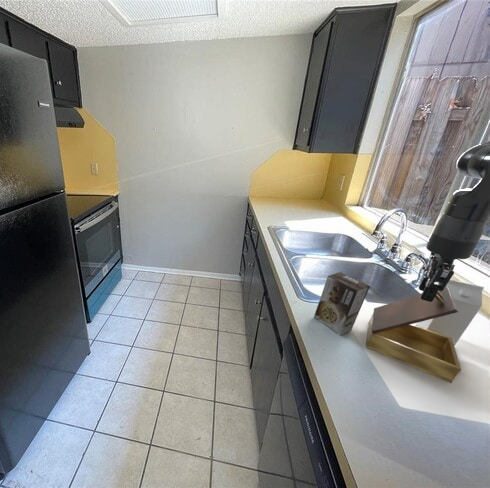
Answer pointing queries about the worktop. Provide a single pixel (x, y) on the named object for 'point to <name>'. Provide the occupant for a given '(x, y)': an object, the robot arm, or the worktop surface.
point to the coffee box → (341, 302)
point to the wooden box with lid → (417, 349)
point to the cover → (412, 311)
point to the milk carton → (467, 306)
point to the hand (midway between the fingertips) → (424, 294)
